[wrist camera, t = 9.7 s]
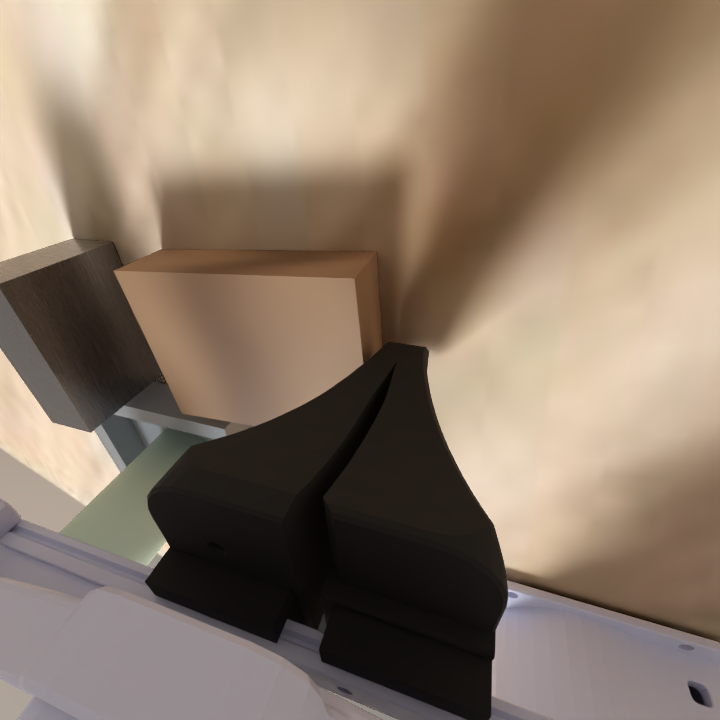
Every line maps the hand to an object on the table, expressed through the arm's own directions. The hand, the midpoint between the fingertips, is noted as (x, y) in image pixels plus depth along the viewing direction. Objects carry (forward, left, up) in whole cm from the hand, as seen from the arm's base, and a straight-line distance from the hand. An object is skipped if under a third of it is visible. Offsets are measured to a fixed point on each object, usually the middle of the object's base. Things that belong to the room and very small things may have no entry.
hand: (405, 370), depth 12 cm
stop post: (+12, 0, -1) cm, 12 cm away
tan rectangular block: (+5, 0, -1) cm, 5 cm away
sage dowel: (+11, +8, -1) cm, 14 cm away
